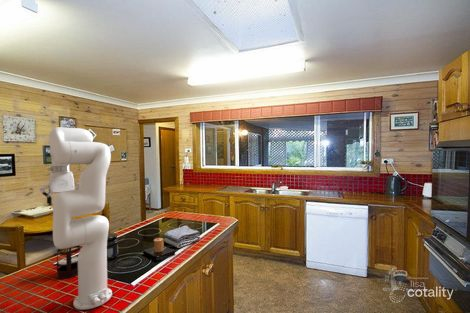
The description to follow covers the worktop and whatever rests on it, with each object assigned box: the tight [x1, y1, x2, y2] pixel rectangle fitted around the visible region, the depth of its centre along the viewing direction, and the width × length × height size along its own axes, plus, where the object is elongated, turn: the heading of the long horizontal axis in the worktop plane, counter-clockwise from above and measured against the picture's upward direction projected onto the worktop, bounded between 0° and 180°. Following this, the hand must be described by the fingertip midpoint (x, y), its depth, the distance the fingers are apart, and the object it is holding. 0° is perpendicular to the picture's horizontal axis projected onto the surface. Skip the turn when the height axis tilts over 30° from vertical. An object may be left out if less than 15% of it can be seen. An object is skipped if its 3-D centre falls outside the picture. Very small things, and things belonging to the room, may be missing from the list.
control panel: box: [142, 245, 176, 263], centre depth 131 cm, size 14×11×3 cm
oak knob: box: [153, 237, 165, 252], centre depth 131 cm, size 5×5×6 cm
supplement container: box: [107, 232, 119, 262], centre depth 128 cm, size 10×10×12 cm
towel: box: [163, 225, 201, 249], centre depth 150 cm, size 15×18×8 cm
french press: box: [56, 245, 83, 280], centre depth 111 cm, size 12×9×23 cm
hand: (61, 203), depth 121 cm, fingers open, 9 cm apart
